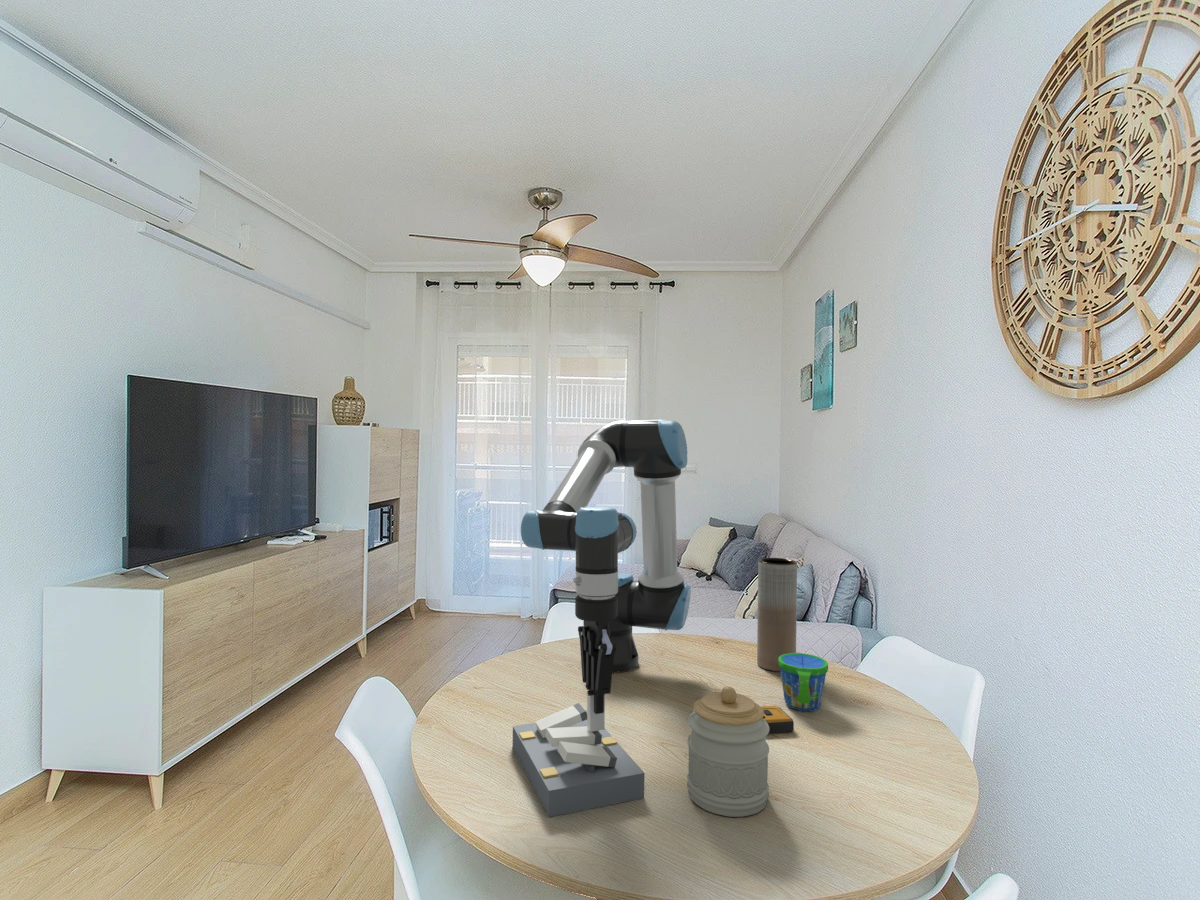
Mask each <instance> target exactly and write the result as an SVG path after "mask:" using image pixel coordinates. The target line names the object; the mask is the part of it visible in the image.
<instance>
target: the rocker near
mask: <svg viewBox="0 0 1200 900" xmlns="http://www.w3.org/2000/svg"><path fill="white" fill-rule="evenodd" d="M557 751H558V752H559V754H560V755H561V757H562V758H563V760H564V761H565V762H571V763H580V764H589V765H598V766H607V767H614V768H615V767H616V763H617V759H618V758H617V757H616V756H615V754H614V753H613V752H612V751H611V750H610V748H609V747H603V746H594V745H586V744H577V743H569V742H561V741H560V742H559V746H558V750H557Z"/></svg>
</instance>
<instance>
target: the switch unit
mask: <svg viewBox="0 0 1200 900" xmlns="http://www.w3.org/2000/svg"><path fill="white" fill-rule="evenodd" d="M583 726H587V720H584V721H582V722H579V723H577V724H575V725H573V726H570V727H583ZM599 732H600V733H601V734H602V743H601V744H598V745H594V746H603V747H609V748H610V750H611V751H612V752H613V753H614V754H615V756H616V757H617V758H618V759H617V763H616V767H615V768H614V767H607V766H598V765H589V764H580V763H571V762H565V761H564V760H563V758H562V757H561V755H560V754H559V752H558V751H557V750H558V747H552V746H551V745H550V743H549V742H548V740H547V739H546V737H545V738H542V736H541V735H540V733H539V732H538V730H537V727H536V723H535V722H531V723H524V724H518V725H513V726H512V749H513V751H514V753H515V755H516V757H517V759H518V760H519V763H520V765H521V767H522V769H523V770H524V772H525V775H526V776H527V778H528V780H529V782H530V784H531V785H532V788H533V790H534V792H535V794H536V795H537V798H538V800H539V802H540V803H541V805H542V807H543V809H544V811H545V813H546V814H547V817H548V818H552V817H557V816H562V815H567V814H571V813H577V812H581V811H586V810H591V809H596V808H600V807H605V806H606V807H607V806H611V805H615V804H620V803H625V802H629V801H636V800H639V799H640V800H641V799H644V798H645V775H646V774H645V772H644V770H643V769H642V768H641V767H640V766H639V764H638V763H636V761H635V760H634V759H633V758H632V757H631V756H630V755H629V754H628V753H627V752H626V750H625V749H624V748H623V747H622V746H621V745H620V743H618V741H617V740H616V739H615V738H614V737H613V736H612V734H611V733H610V732H609V731H608V730H607V729H606V728H605V730H599Z"/></svg>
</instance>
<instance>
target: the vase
mask: <svg viewBox="0 0 1200 900" xmlns="http://www.w3.org/2000/svg"><path fill="white" fill-rule="evenodd" d="M757 561H758V563H757V622H756V623H757V629H756V630H757V633H756V636H757V638H756V639H757V641H756V643H757V644H756V646H757V647H756V663H757V666H758V667H759V668H761V669H764V670H766V671H770V672H776V673H777V672H779V673H781V669H780V667H779V664H778V659H779V657H780V656H781V655H783V654H787V653H797V619H798V618H797V611H798V607H797V605H798V603H797V601H798V599H797V598H798V597H797V596H798V593H797V592H798V562H797V561H796V560H794V559H789V558H782V557H763V558H758V560H757Z"/></svg>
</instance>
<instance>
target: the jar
mask: <svg viewBox="0 0 1200 900" xmlns="http://www.w3.org/2000/svg"><path fill="white" fill-rule="evenodd" d="M736 691H737V690H736V689H734V688H733V687H731V686H724V687H722V688H721V690H720V691H714V692H711V693H707V694H706V695H704V696H703V697H701V698H698V699H697V700H696V701H695V702H694V703H693V706H692V709H693V712H692V713H690V715H689V716H688V719H687V723H688V727H689V728H690V734H689V736H688V738H687V745H688V764H687V765H688V771H687V772H688V773H687V776H686V780H687V781H686V783H687V784H686V785H687V789H688V795H689V797H690V799H691V801H693V802H694V804H695V805H697V806H698V807H700V808H701V809H703V810H705V811H707V812H708V813H712V814H715V815H718V816H724V817H731V818H733V817H735V818H740V817H741V818H742V817H747V816H749V817H750V816H753V815H755V814H758V813H759V812H760V811H762V810H764V808H765V807H766V805H767V803H768V797H769V794H770V793H769V789H770V787H769V781H768V777H769V775H768V773H769V753H770V746H769V744H768V743H767V735H769V734H768V733H769V725H768V723H767V722H766V721H765V720H764V719H763V716H764V710H763V709H762V707H761V706H760V705H759V704H758V703H756V702H755V701H754V700H753V699H752V698H750V697H749V696H746V695H744V694H741V693H737V692H736Z"/></svg>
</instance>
